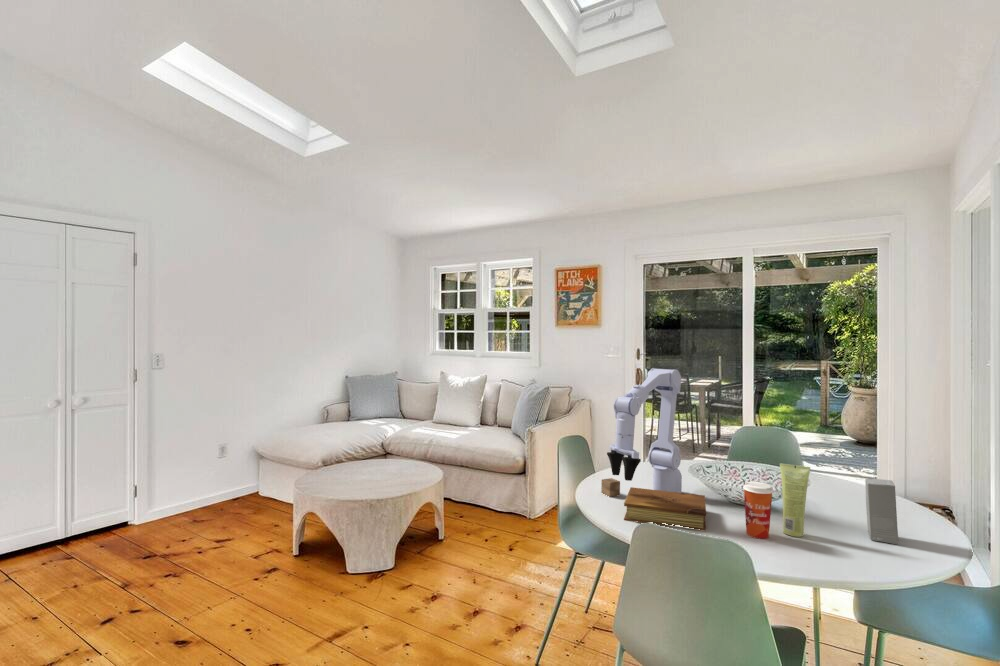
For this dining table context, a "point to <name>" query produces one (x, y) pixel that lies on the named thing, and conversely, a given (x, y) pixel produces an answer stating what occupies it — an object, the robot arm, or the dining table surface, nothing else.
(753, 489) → the paper cup
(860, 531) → the dining table surface
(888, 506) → the skincare box
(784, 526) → the tube
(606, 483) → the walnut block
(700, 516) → the diary
